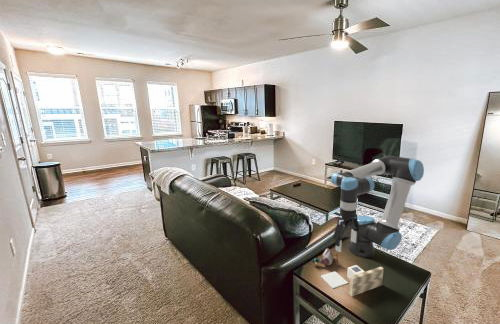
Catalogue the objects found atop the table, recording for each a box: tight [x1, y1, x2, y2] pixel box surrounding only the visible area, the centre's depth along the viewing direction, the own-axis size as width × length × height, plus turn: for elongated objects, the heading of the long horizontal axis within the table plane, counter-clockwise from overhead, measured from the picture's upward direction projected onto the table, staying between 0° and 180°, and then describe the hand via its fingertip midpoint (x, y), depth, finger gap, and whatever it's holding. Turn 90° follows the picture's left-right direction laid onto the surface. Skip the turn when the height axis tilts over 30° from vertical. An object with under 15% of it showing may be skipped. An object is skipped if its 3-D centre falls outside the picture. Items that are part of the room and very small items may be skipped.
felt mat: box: [320, 271, 349, 289], centre depth 127 cm, size 10×10×1 cm
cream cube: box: [346, 264, 366, 280], centre depth 126 cm, size 6×6×6 cm
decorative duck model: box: [311, 248, 339, 267], centre depth 141 cm, size 15×8×15 cm
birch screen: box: [349, 266, 385, 297], centre depth 118 cm, size 20×2×10 cm, turn 111°
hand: (346, 246), depth 122 cm, fingers open, 13 cm apart
